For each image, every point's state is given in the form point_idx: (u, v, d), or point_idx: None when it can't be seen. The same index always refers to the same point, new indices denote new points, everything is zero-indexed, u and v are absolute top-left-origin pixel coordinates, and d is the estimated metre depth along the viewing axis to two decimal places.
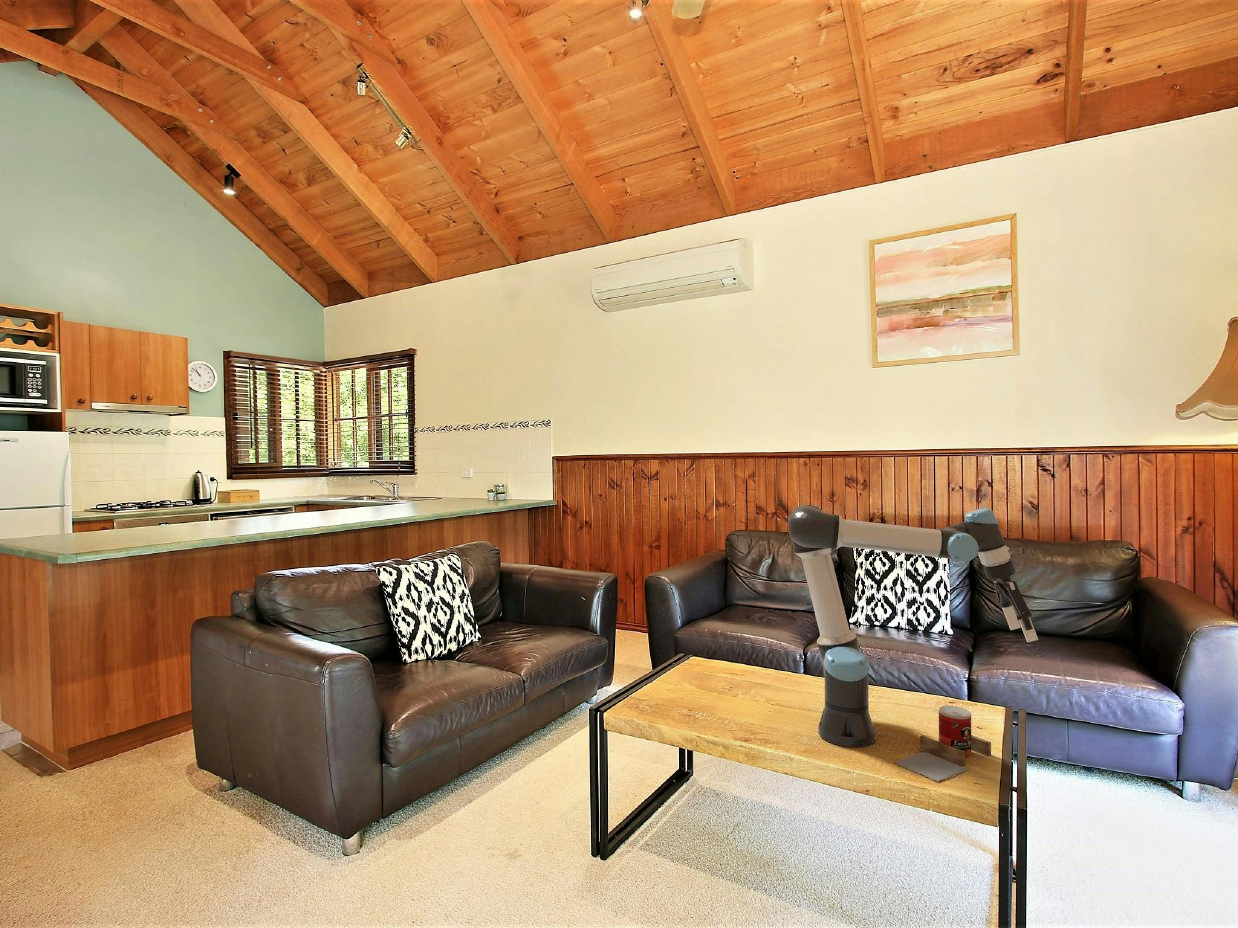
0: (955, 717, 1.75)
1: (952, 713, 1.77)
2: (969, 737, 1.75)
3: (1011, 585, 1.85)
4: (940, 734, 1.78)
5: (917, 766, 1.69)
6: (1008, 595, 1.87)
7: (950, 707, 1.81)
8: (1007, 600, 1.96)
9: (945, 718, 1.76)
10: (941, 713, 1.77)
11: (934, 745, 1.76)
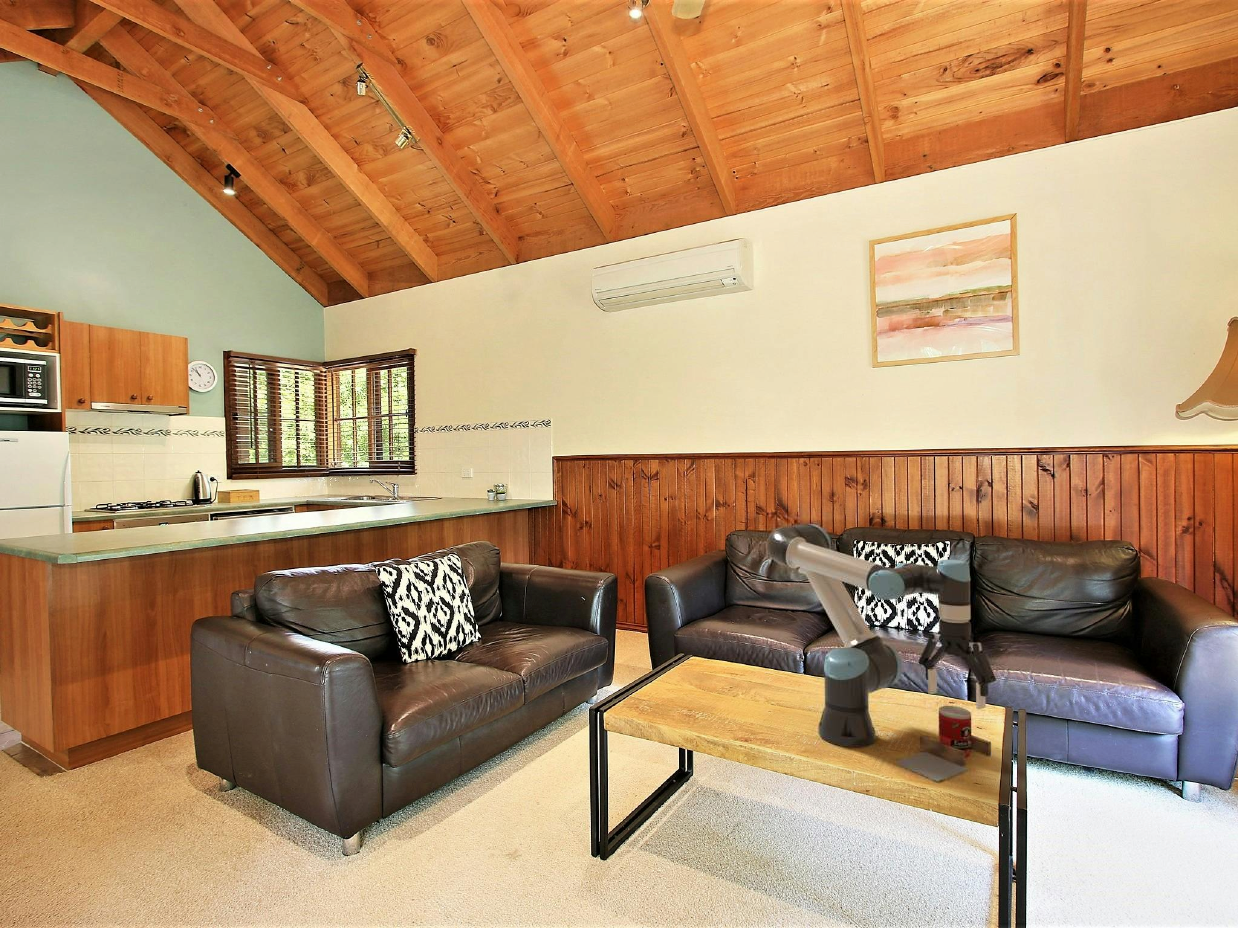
0: (955, 717, 1.75)
1: (952, 713, 1.77)
2: (969, 737, 1.75)
3: (980, 646, 1.72)
4: (940, 734, 1.78)
5: (917, 766, 1.69)
6: (967, 656, 1.74)
7: (950, 707, 1.81)
8: (936, 661, 1.83)
9: (945, 718, 1.76)
10: (941, 713, 1.77)
11: (934, 745, 1.76)
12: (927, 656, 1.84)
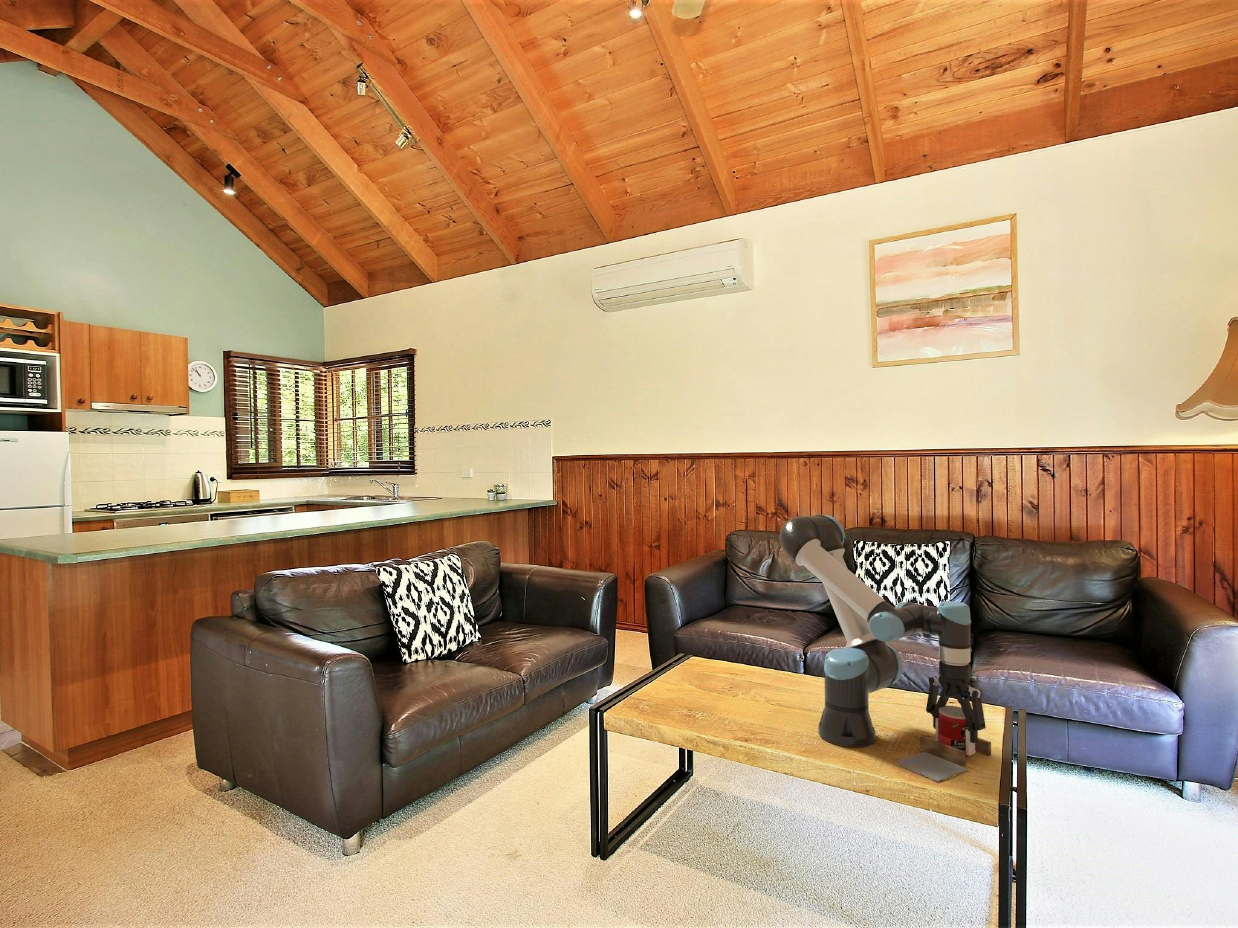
0: (955, 717, 1.75)
1: (952, 713, 1.77)
2: None
3: (979, 694, 1.72)
4: (940, 734, 1.78)
5: (917, 766, 1.69)
6: (963, 701, 1.75)
7: (950, 707, 1.81)
8: None
9: (945, 718, 1.76)
10: (941, 713, 1.77)
11: (934, 745, 1.76)
12: (933, 702, 1.83)
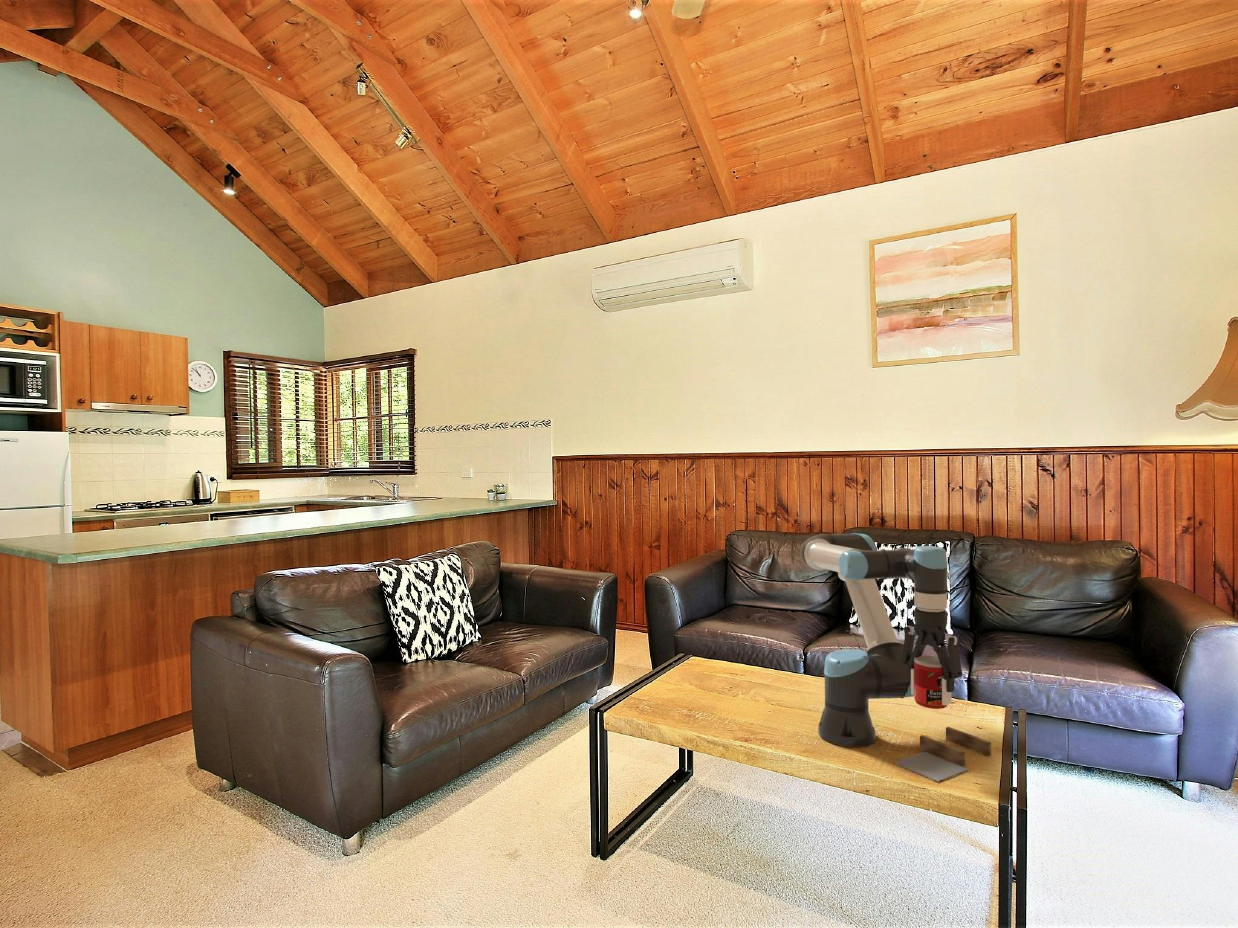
0: (931, 665, 1.66)
1: (928, 662, 1.69)
2: None
3: (955, 641, 1.64)
4: (915, 684, 1.70)
5: (917, 766, 1.69)
6: (939, 649, 1.67)
7: (926, 657, 1.73)
8: None
9: (921, 667, 1.68)
10: (917, 662, 1.69)
11: (934, 745, 1.76)
12: (908, 653, 1.75)
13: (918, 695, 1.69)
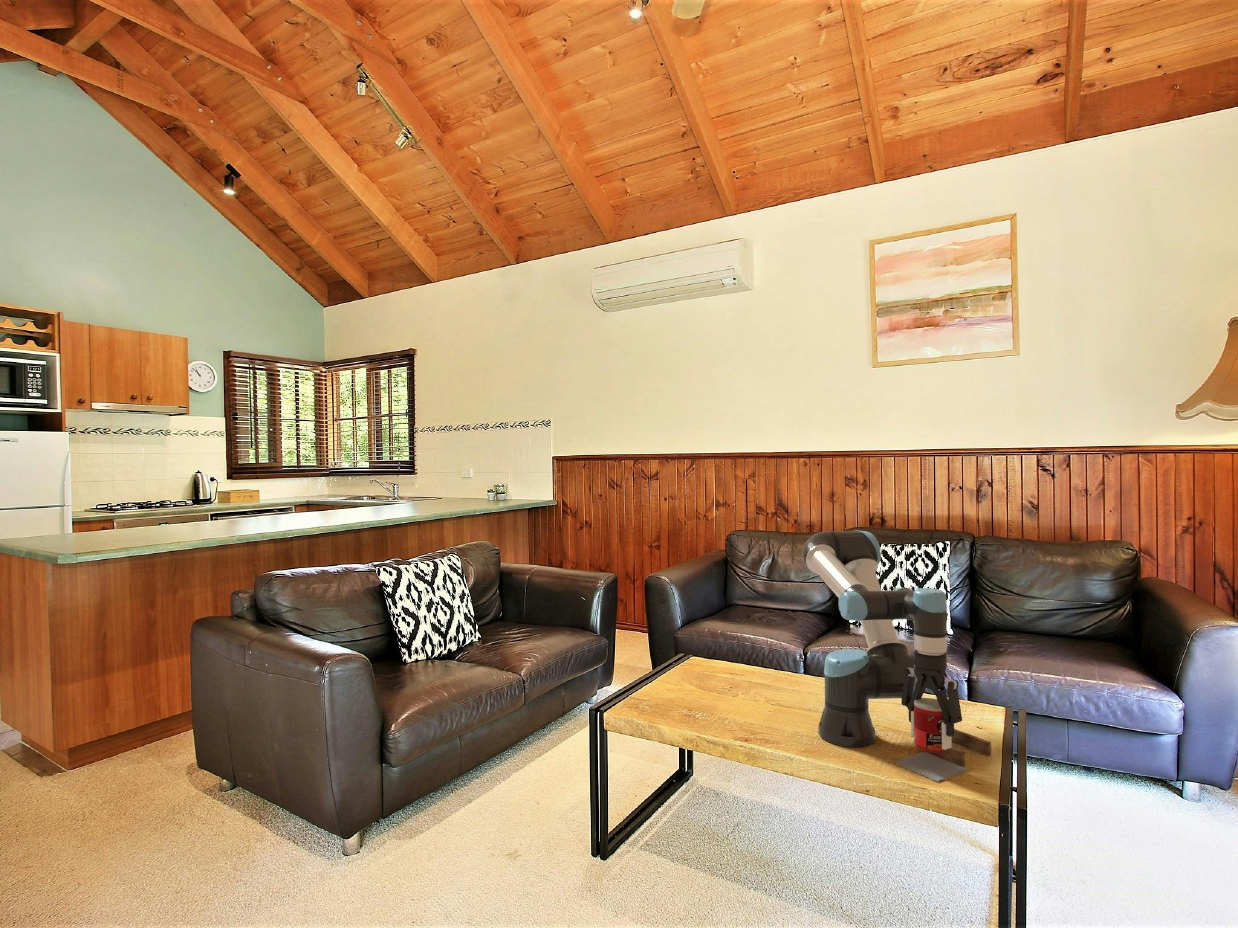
0: (930, 709, 1.66)
1: (928, 705, 1.69)
2: None
3: (955, 685, 1.64)
4: (915, 727, 1.70)
5: (917, 766, 1.69)
6: (939, 692, 1.66)
7: (926, 700, 1.73)
8: None
9: (920, 711, 1.68)
10: (917, 705, 1.69)
11: None
12: (908, 695, 1.75)
13: (918, 738, 1.69)
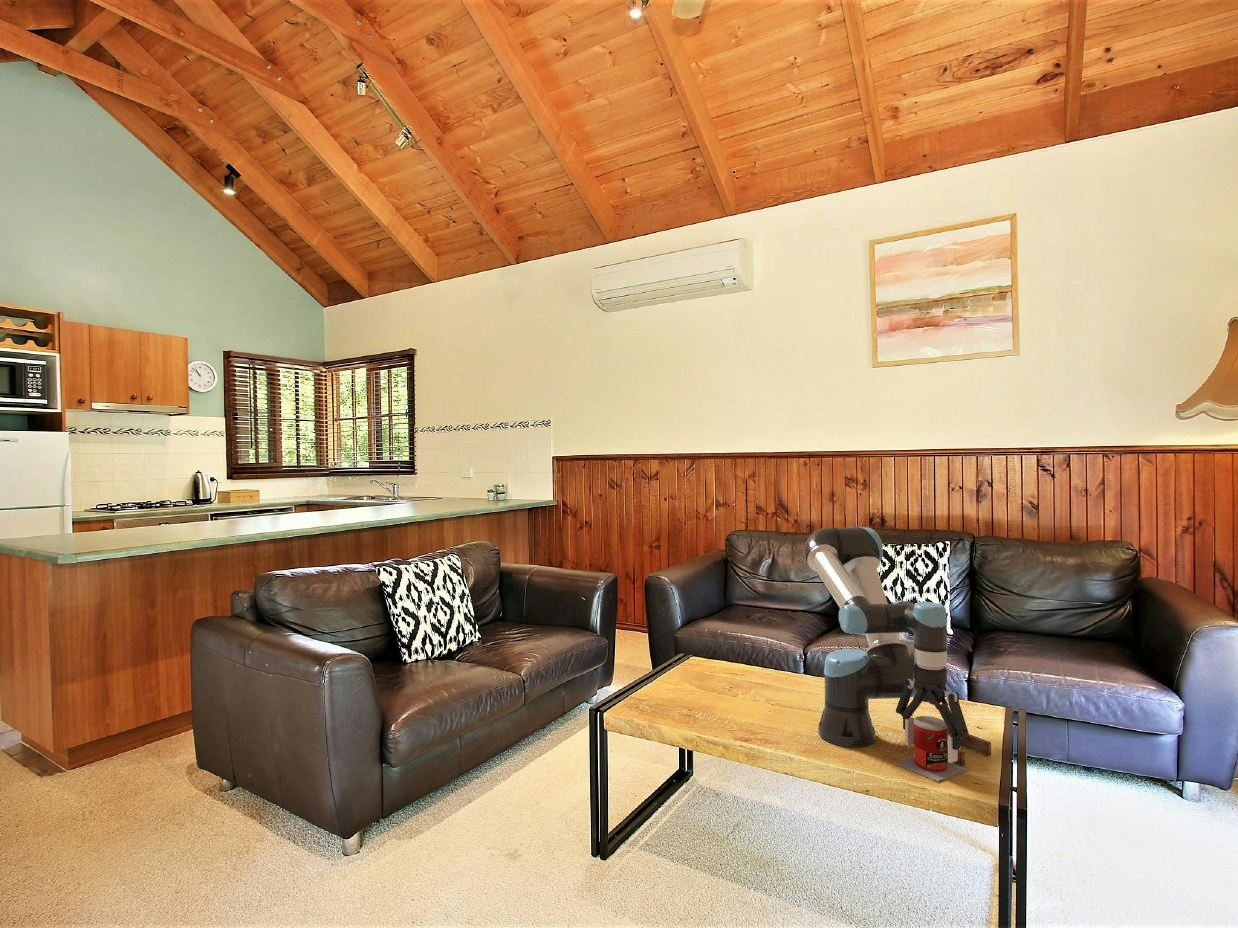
0: (930, 728, 1.66)
1: (927, 724, 1.69)
2: (945, 749, 1.67)
3: (955, 697, 1.64)
4: (915, 746, 1.70)
5: (917, 766, 1.69)
6: (941, 706, 1.66)
7: (925, 718, 1.73)
8: (913, 710, 1.74)
9: (920, 730, 1.68)
10: (916, 724, 1.69)
11: None
12: (904, 704, 1.76)
13: (917, 757, 1.69)
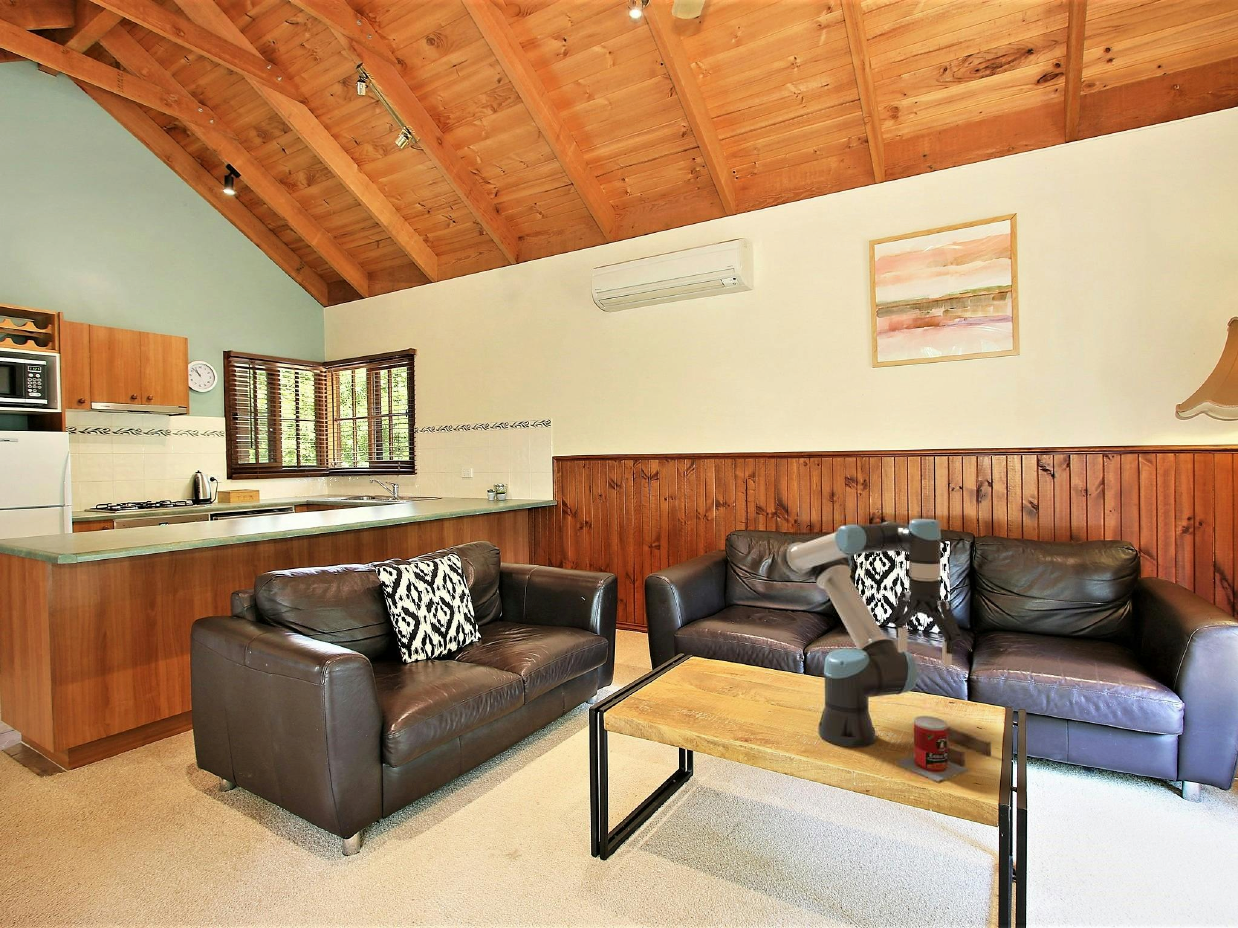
0: (930, 728, 1.66)
1: (927, 724, 1.69)
2: (945, 749, 1.67)
3: (947, 604, 1.72)
4: (915, 746, 1.70)
5: (917, 766, 1.69)
6: (934, 614, 1.74)
7: (925, 718, 1.73)
8: (907, 620, 1.83)
9: (920, 730, 1.68)
10: (916, 724, 1.69)
11: None
12: (898, 615, 1.85)
13: (917, 757, 1.69)
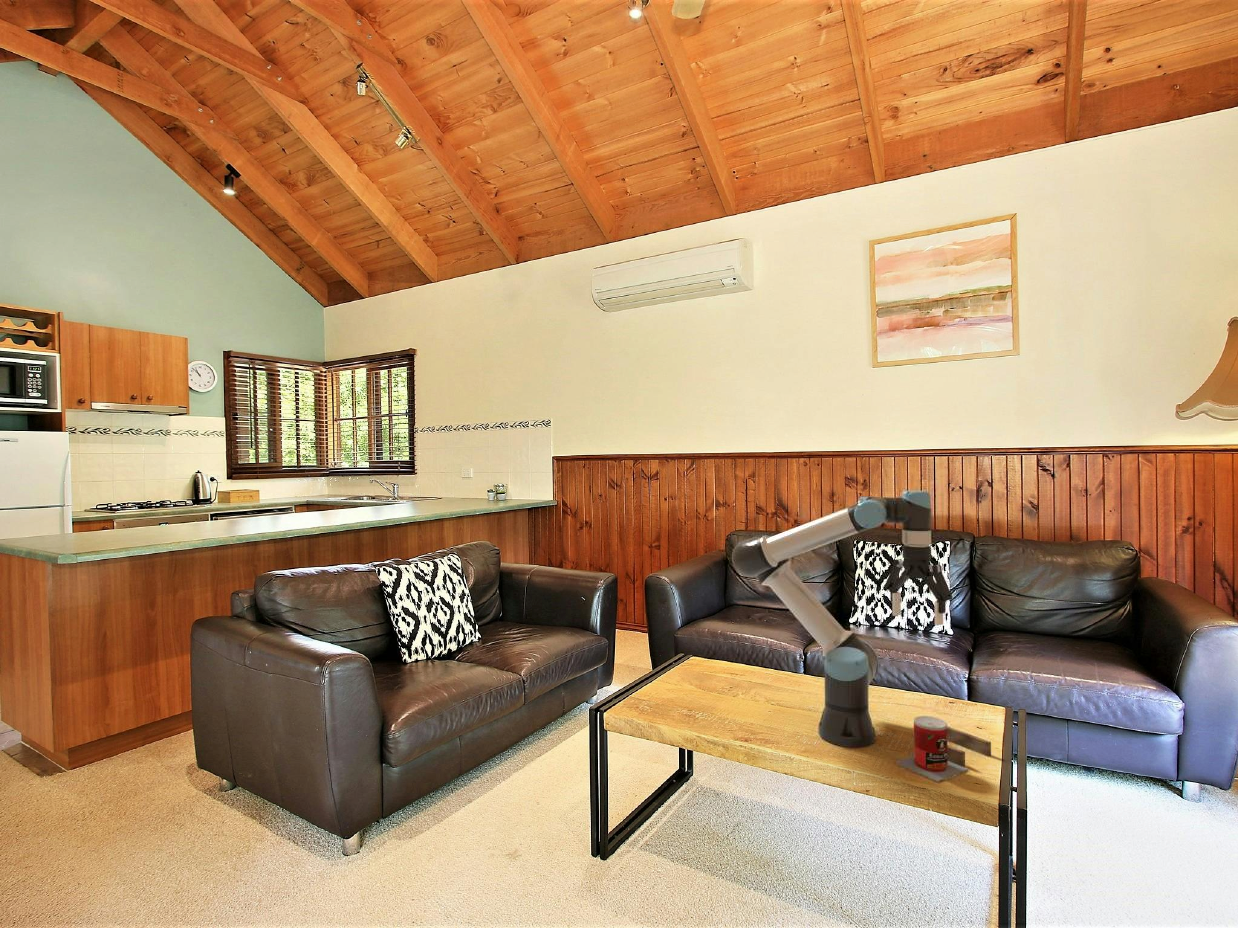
0: (930, 728, 1.66)
1: (927, 724, 1.69)
2: (945, 749, 1.67)
3: (938, 568, 1.86)
4: (915, 746, 1.70)
5: (917, 766, 1.69)
6: (927, 578, 1.88)
7: (925, 718, 1.73)
8: (900, 586, 1.97)
9: (920, 730, 1.68)
10: (916, 724, 1.69)
11: None
12: (892, 581, 1.99)
13: (917, 757, 1.69)
